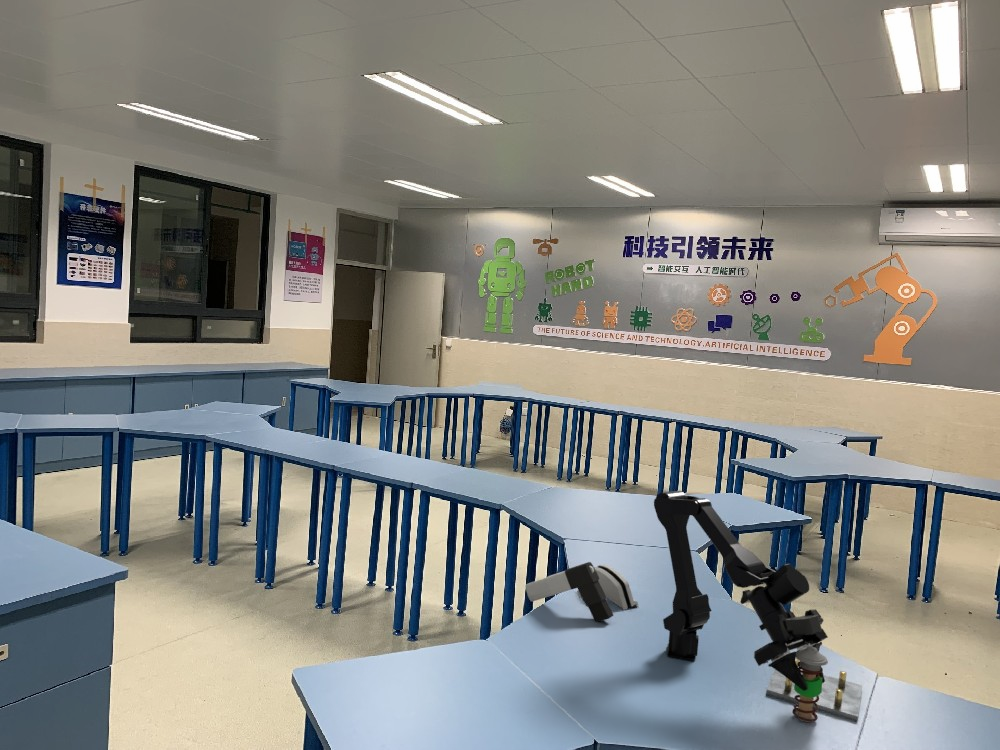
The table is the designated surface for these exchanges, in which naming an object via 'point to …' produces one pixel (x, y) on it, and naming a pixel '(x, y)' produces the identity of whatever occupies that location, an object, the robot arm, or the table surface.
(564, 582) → the handheld device
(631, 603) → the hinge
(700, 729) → the table surface
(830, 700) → the plate
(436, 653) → the table surface
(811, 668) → the shock absorber
